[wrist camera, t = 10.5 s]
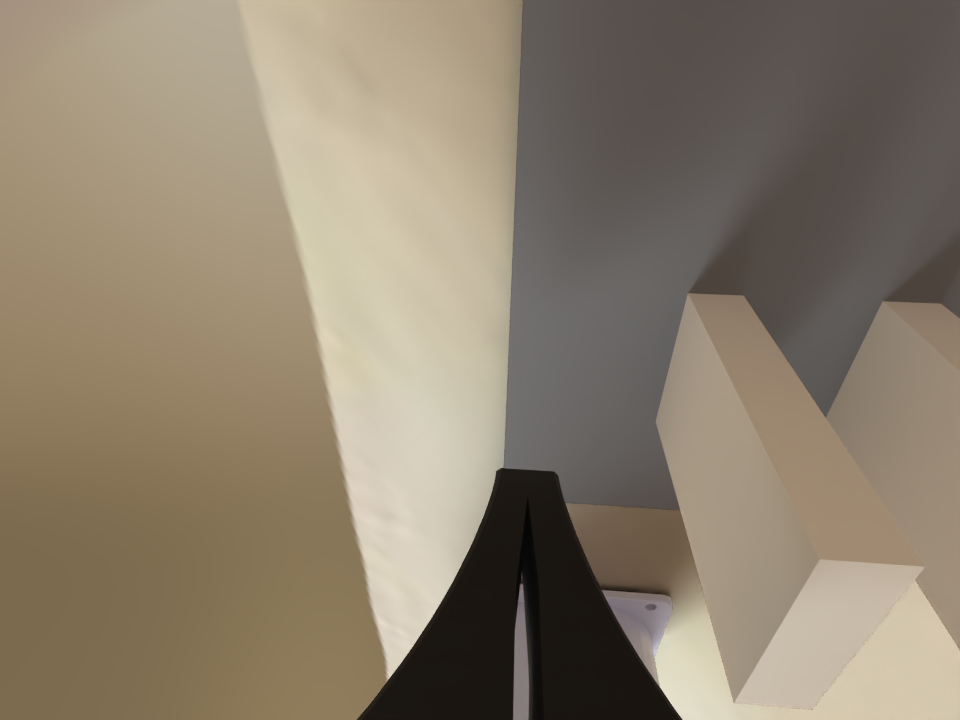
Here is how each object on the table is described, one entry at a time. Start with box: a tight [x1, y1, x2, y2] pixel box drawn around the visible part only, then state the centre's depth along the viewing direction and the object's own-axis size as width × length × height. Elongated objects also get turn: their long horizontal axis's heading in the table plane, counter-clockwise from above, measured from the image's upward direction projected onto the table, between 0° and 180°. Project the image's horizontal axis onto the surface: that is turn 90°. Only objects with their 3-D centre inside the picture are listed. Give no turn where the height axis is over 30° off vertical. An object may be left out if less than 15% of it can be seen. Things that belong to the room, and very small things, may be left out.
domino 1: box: [656, 293, 925, 710], centre depth 14 cm, size 2×5×9 cm, turn 179°
